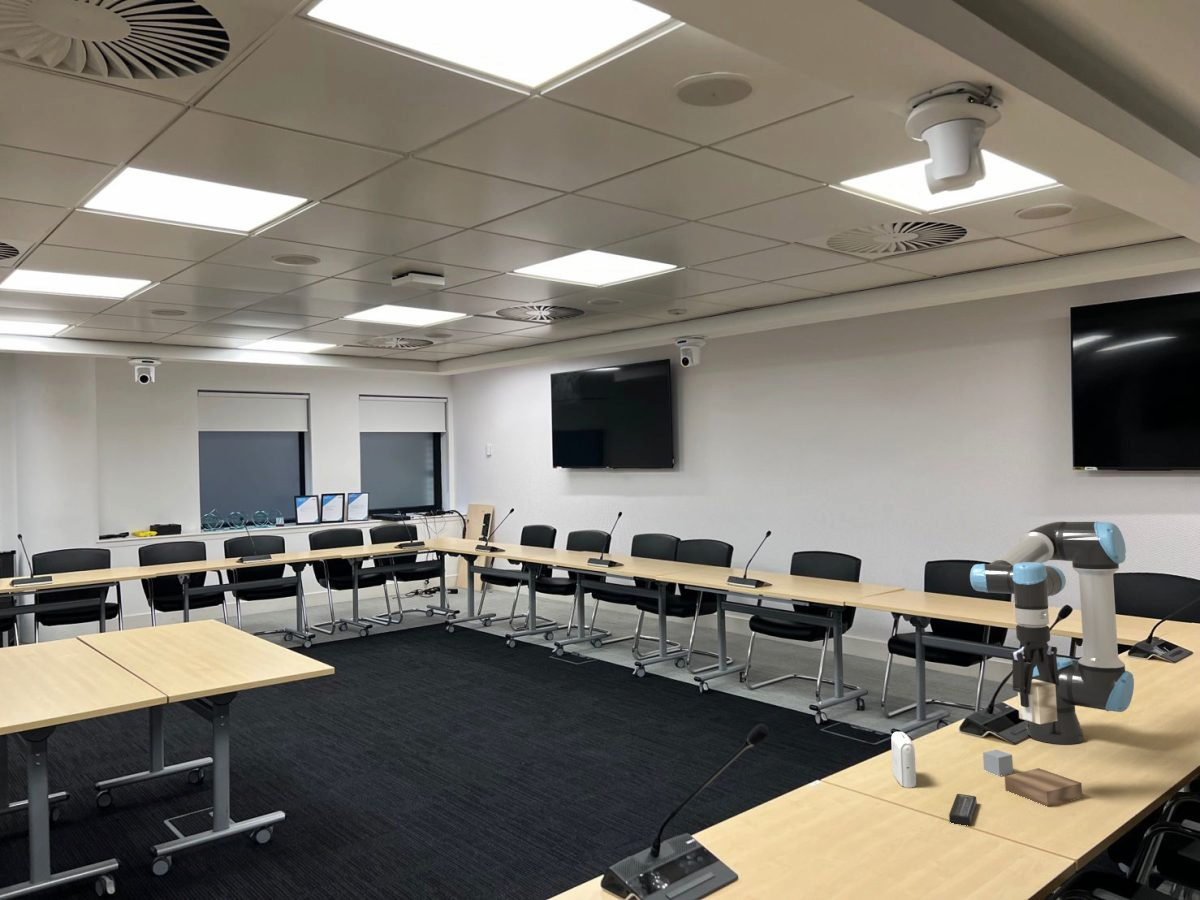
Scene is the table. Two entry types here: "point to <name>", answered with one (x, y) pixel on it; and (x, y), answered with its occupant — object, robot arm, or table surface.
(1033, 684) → the ash block
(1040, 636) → the robot arm
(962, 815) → the multiport hub
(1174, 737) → the table surface
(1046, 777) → the walnut base block
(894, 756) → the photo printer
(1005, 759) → the slate grey block
